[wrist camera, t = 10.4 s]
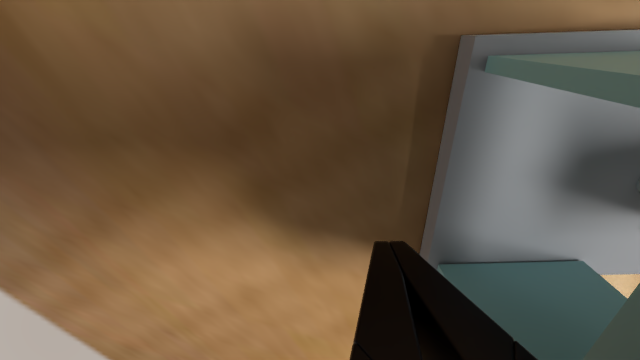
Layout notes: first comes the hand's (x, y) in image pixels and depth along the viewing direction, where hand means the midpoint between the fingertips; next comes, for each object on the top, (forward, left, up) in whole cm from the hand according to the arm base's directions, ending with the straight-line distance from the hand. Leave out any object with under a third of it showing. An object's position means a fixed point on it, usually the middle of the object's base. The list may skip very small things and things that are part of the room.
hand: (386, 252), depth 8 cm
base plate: (-12, 0, -5) cm, 13 cm away
